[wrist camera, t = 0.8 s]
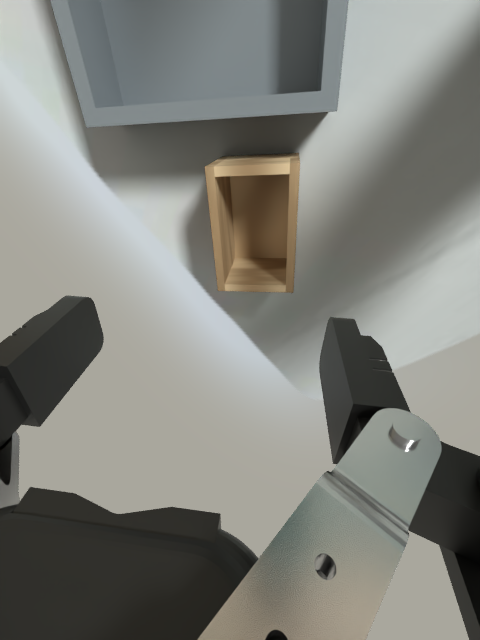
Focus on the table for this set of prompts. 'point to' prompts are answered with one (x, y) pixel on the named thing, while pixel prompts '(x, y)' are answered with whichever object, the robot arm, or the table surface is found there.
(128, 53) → the grey square tray
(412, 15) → the table surface
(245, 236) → the small oak crate
